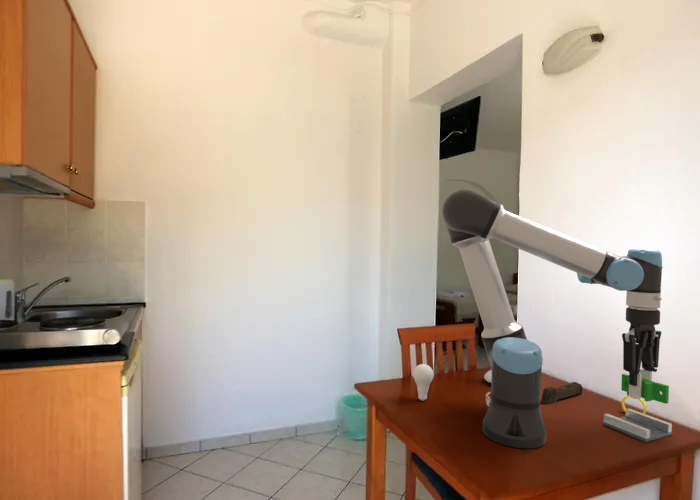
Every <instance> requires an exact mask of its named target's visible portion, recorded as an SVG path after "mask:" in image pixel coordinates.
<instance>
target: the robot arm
mask: <svg viewBox="0 0 700 500" xmlns="http://www.w3.org/2000/svg"><path fill="white" fill-rule="evenodd" d="M441 214H442V219H443V221H444V224H445V226H446V227H445V228H446V229H447V233H448V237H449V239H450V242H451V245H452V246H453V247H456V248H457V249H458V250H459V254H460V256H461V259H462V262H463V266H464V269H465V271H466V276H467V277H468V278H467V279H468V281H469V284H470V287H471V291H472V293H473V297H474V300H475V302H476V303H475V304H476V307H477V310H478V312H479V315H480V318H481V322H482V325H483V331H481V334H480V335H481V341H482V343H483V345H484V346H483V347H484V349H485V351H486V352H485V353H486V357H487V360H488V362H489V365H490V370H492V380H491V383H490V402H489V404H488V406H487V410H486V412H485V416H484V418H483V419H482V428H481V429H482V432H483V434H484V435H485V436H486V437H487V438H489V439H490V440H491V441H493V442H495V443H498V444H501V445H504V446H507V447H512V448H517V449H536V448H540V447H542V446H544V445H545V444H546V443H547V429H546V426H545V425H544V419H543V416H542V412H541V407H540V406H541V392H542V391H541V388H542V387H541V386H542V369H543V362H544V361H543V360H544V358H543V353H542V348H541V347H540V346H539V345H538V344H537V343H536V342H533V341H530V340H529V339H527V335H526V332H525V330H524V326H523V324H521V323H519V322H518V321H516V319H515V317H514V314H513V310H512V307H511V305H510V302H509V301H510V300H509V298H508V295H507V293H506V292H507V291H506V288H505V286H504V283H503V279H502V276H501V274H500V270H499V267H498V264H497V260H496V258H495V255H494V251H493V249H492V246H491V242H490V239H494V240H497V241H499V242H502V243H505V244H507V245H509V246H511V247H514V248H516V249H519V250H521V251H523V252H526V253H528V254H529V255H533V256H535V257H538V258H540V259H543V260H545V261H547V262H550V263H553V264H555V265H557V266H560V267H562V268H563V269H567V270H570V271H572V272H575V273H576V276H577V280H578V281H579V282H580V283H581V284H590V285H595V284H596V285H602V286H605V287H609V288H612V289H613V290H616V291H621V292H622V291H623V292H626V298H625V305H626V306H627V307H626V309H625V321H626V322H628V323H629V324H630V326H629V329H628V332H627V333H626V332H624V333H622V334H621V337H622V343H623V348H622V349H623V350H622V352H623V354H622V356H623V357H622V358H623V364H622V367H623V368H622V369H623V370H624V371H626V372H628V375H629V396H631V397H634V398H637V399H636V400H638V399H641V398H642V397H641V382H642V379H646V380H650V381H653V372H655V373H657V371H658V369H657V368H659V360H660V359H659V357H660V342H661V341H660V340H661V336H662V330H661V331H660V330H658V329H656V327H655V326H658V325H660V324H661V311H660V308H661V301H662V300H663V299H662V293H661V292H662V274H663V258H662V252H661V251H660V250H659V249H658V250H657V249H649V248H648V249H644V248H643V249H642V248H641V249H640V248H639V249H637V248H634V249H633V248H631V249H629V250H628V251H627V254H626V255H623V256H620V255H617V254H615V253H612V252H610V251H606V250H604V249H602V248H600V247H597V246H595V245H593V244H589V243H588V242H585V241H582V240H580V239H577V238H575V237H572V236H570V235H567V234H565V233H562V232H560V231H558V230H555V229H552V228H551V227H548V226H545V225H543V224H540V223H538V222H535V221H533V220H531V219H528V218H525V217H523V216H520V215H517V214H515V213H513V212H511V211H508V210H506V209H505V208H504V205H503V204H502V203H499V202H496V201H494V200H492V199H490V198H488V197H486V196H485V195H482V194H481V193H479V192H476V191H475V190H471V189H459V190H456V191H453V192H452V193H450V194H449V195H448V196H447V197H446V199H445V200H444V202H443V205H442V209H441ZM631 397H630V398H631ZM634 398H633V399H634Z"/></svg>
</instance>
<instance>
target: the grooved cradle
mask: <svg viewBox="0 0 700 500" xmlns="http://www.w3.org/2000/svg"><path fill="white" fill-rule="evenodd" d="M624 415H625V416H621V417H618V416H615V415H612V414H610V413H604V414H603V425H604V426H605V427H609V428H610V429H613V430H616V431H619V432H621V433H623V434H626V435H628V436H630V437H633V438H635V439H637V440H639V441H643V442H645V443H647V442H651V441H654V440H658V439H661V438H665V437H668V436H671V435H672V430H673V429H672V427H673V424H672V423H671V422H668V421H665V420H662V419H660V418H657V417H654V416H652V415H648V414H647V413H645V414H643V412H640V411H637V410H634V409H632V408H626V412H625V414H624Z"/></svg>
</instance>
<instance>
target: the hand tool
mask: <svg viewBox="0 0 700 500" xmlns="http://www.w3.org/2000/svg"><path fill="white" fill-rule="evenodd" d="M583 392H584V391H583V385H582V384H580V383H579V382H577V381H572V382H570V383H569V384H568V383H567V384H564V385H561V386H559V387H554V386H549V387H545V388H544V389H543V391H542V396H541V404H544V405H545V404H555V403H556V402H557V401H559V400H562V399H565V398H568V397H572V396H576V395H578V396H582V394H583Z"/></svg>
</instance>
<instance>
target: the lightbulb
mask: <svg viewBox="0 0 700 500" xmlns="http://www.w3.org/2000/svg"><path fill="white" fill-rule="evenodd" d="M434 374H435V373H434V371H433V369H432V367H431V366H430V365H429V364H426V363H420V364H418V365H416V366H415V367H414V369H413V371H412V375H413V376H412V377H413V380H414V382H415V384H416V389H417V395H418V396H417V397H418V399H419V400H420V401H425V400H427V398H428V392H429V387H430V385H431V383H432V381H433V379H434Z"/></svg>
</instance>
